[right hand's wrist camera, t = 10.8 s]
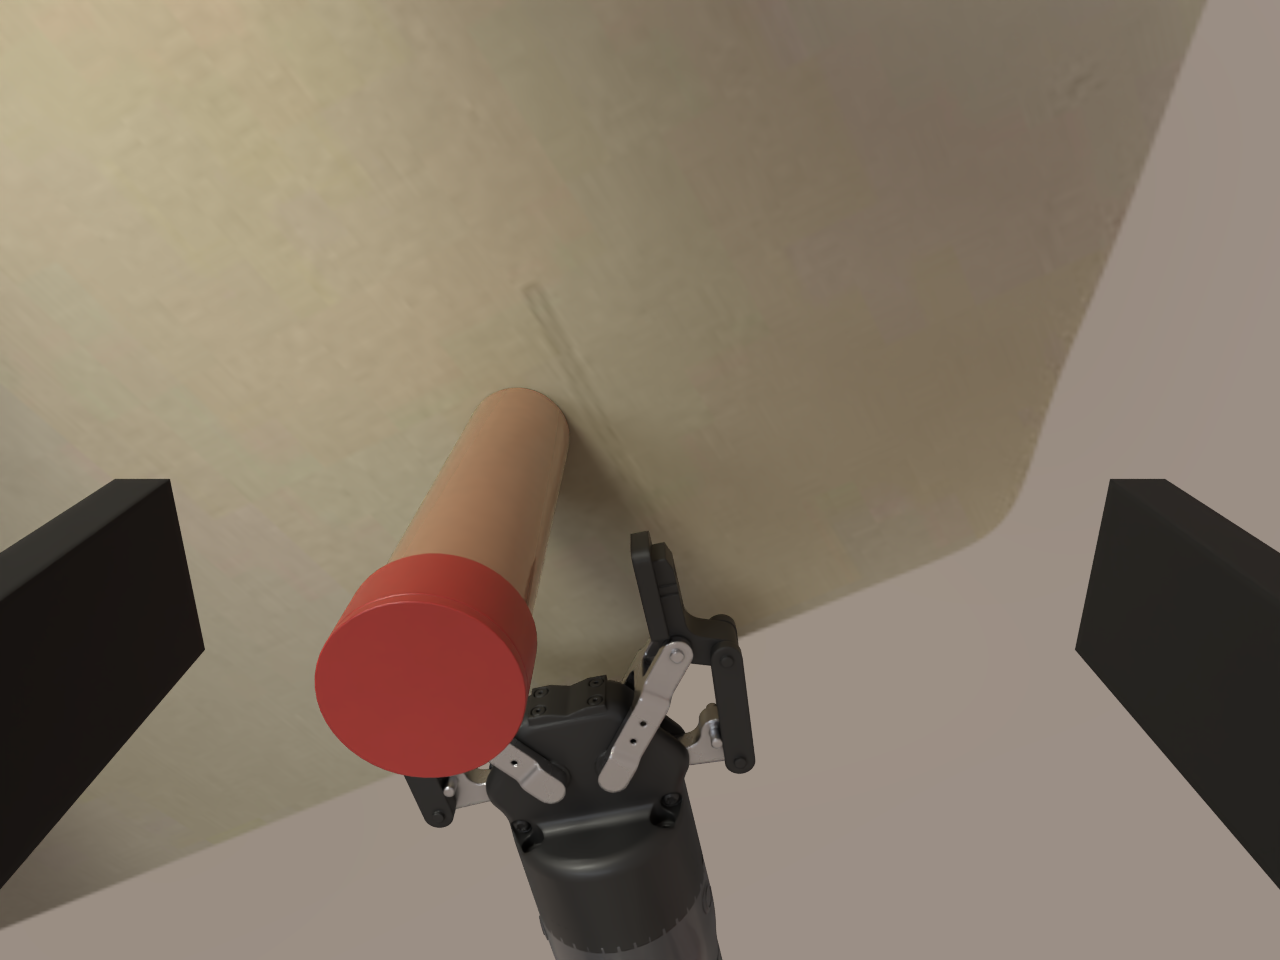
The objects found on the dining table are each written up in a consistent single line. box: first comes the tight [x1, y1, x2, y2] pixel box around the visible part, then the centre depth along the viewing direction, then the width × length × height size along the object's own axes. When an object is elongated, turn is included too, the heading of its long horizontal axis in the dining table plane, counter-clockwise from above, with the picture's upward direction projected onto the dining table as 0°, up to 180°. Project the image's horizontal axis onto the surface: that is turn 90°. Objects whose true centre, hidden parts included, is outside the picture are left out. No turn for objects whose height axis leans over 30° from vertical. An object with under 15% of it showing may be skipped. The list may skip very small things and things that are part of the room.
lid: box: [315, 553, 537, 778], centre depth 22 cm, size 5×5×2 cm
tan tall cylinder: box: [386, 388, 570, 615], centre depth 29 cm, size 4×4×18 cm
